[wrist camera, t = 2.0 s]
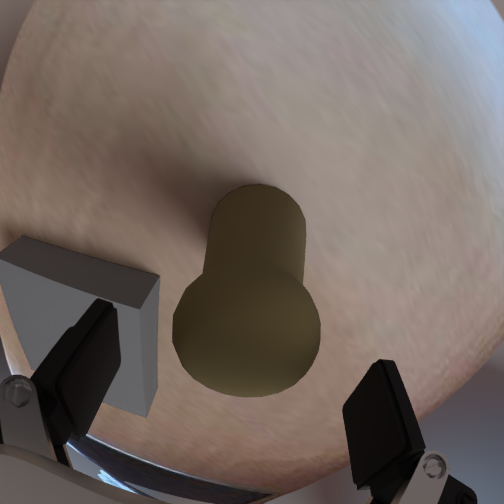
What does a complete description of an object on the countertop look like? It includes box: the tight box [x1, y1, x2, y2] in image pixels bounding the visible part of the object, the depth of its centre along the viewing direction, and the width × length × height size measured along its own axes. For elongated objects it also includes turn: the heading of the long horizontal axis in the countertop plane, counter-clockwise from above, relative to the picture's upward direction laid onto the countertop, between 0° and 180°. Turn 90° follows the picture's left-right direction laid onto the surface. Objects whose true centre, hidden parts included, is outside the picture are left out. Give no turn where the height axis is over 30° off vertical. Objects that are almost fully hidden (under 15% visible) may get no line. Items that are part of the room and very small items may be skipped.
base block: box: [0, 236, 160, 418], centre depth 21 cm, size 14×14×4 cm
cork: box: [172, 184, 321, 397], centre depth 13 cm, size 6×6×11 cm
